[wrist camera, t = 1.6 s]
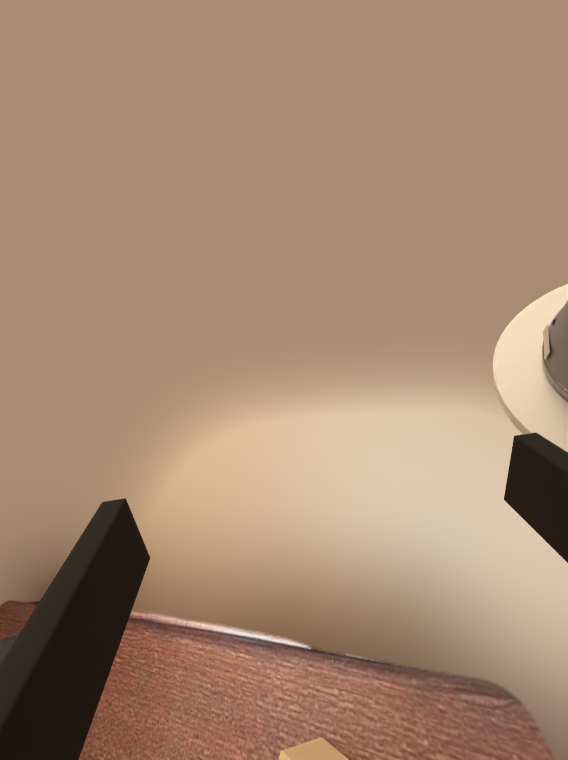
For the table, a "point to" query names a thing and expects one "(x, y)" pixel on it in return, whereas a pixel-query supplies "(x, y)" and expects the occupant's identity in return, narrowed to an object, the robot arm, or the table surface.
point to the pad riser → (312, 751)
